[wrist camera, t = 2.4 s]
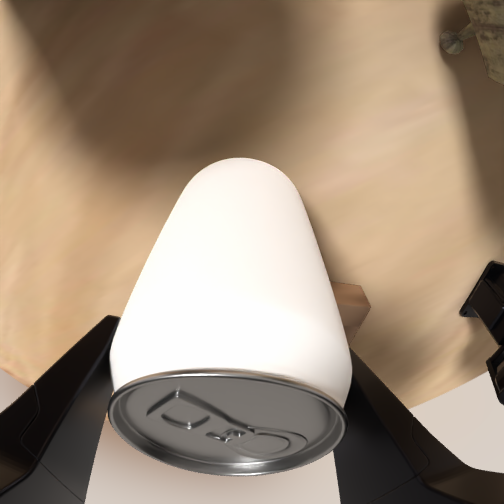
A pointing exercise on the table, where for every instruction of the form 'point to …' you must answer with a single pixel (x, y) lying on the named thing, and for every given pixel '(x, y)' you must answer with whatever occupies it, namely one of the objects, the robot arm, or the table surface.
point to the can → (232, 333)
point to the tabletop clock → (482, 35)
